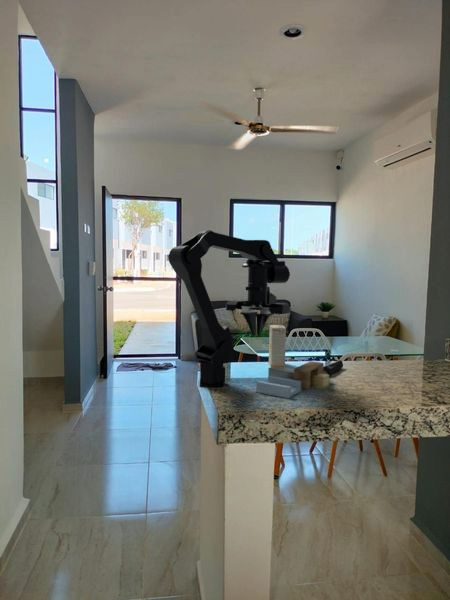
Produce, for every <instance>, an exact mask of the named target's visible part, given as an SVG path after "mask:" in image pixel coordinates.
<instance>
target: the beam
mask: <svg viewBox="0 0 450 600" xmlns="http://www.w3.org/2000/svg"><path fill="white" fill-rule="evenodd" d="M324 366H325V364H324V362H319V361H311V360H310V361H308V362H305V363H303V364H301V365H298V366H297V367H295V368H294V380H298V381H301V390H307V391H308V390H309V389H311V387H310V385H311V372H317V373H323V368H324Z"/></svg>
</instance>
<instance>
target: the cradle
mask: <svg viewBox="0 0 450 600" xmlns="http://www.w3.org/2000/svg"><path fill="white" fill-rule="evenodd" d="M301 391H302V389H301V381H298V380H291V379H285V378H279V377H273V376H269V377H268V376H267V381H262V380H258V381H257V382H256V391H255V392H256V393H259V394H266V395H269V396H275V397H279V398H286V399H289V398H291V397H292V396H294V394H295V395H296V394H298V393H300V392H301Z"/></svg>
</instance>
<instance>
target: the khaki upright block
mask: <svg viewBox="0 0 450 600" xmlns="http://www.w3.org/2000/svg"><path fill="white" fill-rule="evenodd" d="M312 387H313V389H317V388H318V389H317V390H322V389H323V391H324V390H325V388H326V389H327V387H328V388H329V387H330V377H329V374H323V373H317V372H311V385H310V388H312Z"/></svg>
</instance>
